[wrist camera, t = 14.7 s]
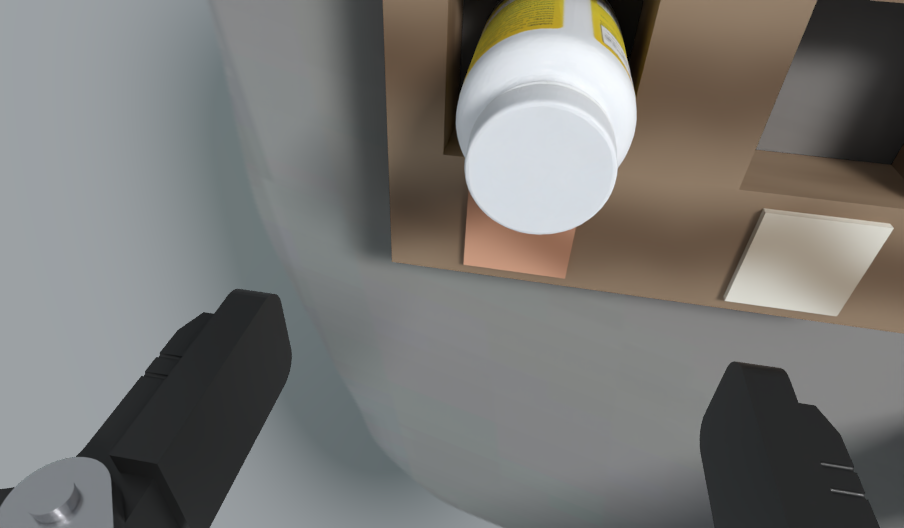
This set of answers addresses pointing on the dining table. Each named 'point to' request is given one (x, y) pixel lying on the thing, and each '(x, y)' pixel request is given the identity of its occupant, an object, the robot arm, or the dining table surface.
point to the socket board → (662, 176)
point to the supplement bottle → (546, 113)
